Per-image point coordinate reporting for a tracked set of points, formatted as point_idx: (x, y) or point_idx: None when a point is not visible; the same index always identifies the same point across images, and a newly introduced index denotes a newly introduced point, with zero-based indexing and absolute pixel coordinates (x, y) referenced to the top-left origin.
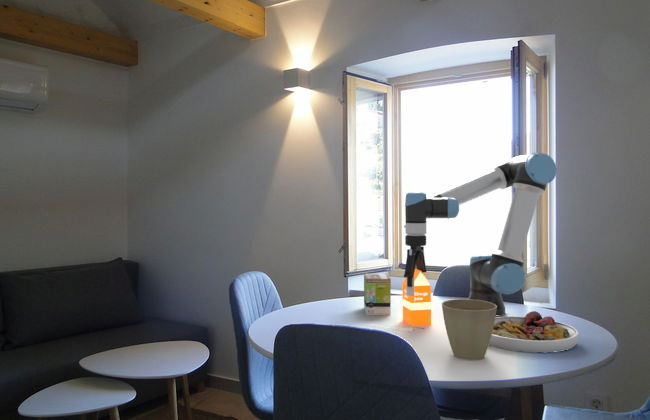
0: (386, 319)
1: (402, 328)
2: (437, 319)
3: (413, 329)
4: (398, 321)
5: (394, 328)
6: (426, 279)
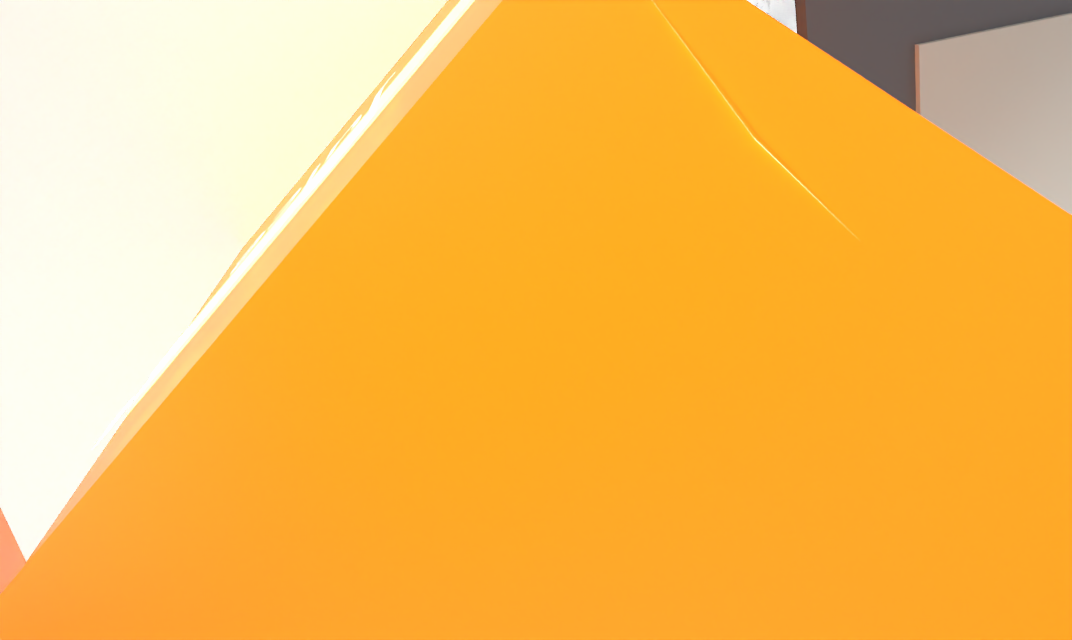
0: None
1: None
2: (23, 49)
3: (961, 35)
4: None
5: None
6: (873, 147)
